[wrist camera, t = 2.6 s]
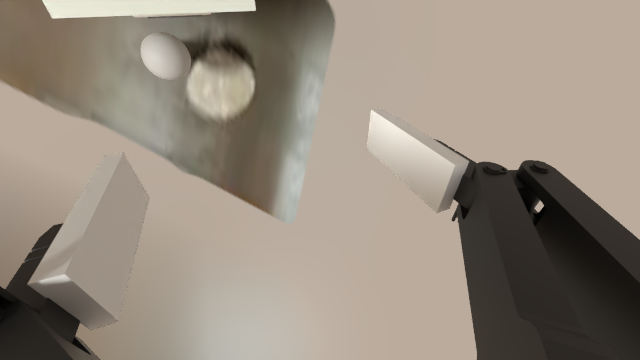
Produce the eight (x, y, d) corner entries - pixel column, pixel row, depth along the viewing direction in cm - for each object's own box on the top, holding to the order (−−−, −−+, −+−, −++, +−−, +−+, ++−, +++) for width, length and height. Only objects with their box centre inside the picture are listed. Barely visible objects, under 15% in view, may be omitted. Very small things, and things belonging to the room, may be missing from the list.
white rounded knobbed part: (172, 19, 39) (165, 25, 31) (200, 56, 43) (200, 70, 35) (139, 39, 39) (124, 51, 31) (170, 74, 43) (163, 93, 35)
